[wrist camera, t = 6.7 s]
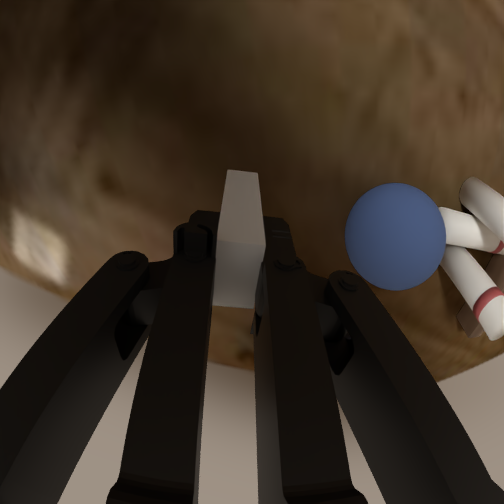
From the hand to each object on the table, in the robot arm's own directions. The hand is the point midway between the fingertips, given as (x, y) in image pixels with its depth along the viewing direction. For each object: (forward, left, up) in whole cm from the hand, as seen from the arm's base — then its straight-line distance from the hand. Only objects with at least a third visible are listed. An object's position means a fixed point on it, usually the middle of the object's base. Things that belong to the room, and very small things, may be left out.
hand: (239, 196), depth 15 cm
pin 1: (+16, +2, -2) cm, 17 cm away
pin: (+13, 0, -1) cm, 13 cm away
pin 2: (+16, -2, -2) cm, 17 cm away
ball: (+9, -1, +1) cm, 9 cm away
